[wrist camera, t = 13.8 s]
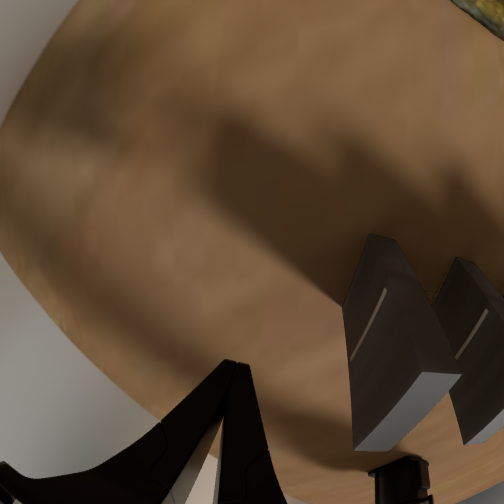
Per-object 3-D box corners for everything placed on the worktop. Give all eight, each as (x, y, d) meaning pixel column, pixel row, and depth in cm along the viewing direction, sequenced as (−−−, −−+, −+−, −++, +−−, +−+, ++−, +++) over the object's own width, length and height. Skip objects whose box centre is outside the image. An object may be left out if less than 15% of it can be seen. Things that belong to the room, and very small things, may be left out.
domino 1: (341, 307, 17) (351, 450, 9) (368, 233, 15) (420, 371, 7) (366, 312, 17) (388, 451, 9) (396, 240, 15) (463, 374, 7)
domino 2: (422, 322, 17) (463, 445, 9) (455, 256, 15) (533, 374, 6) (441, 325, 17) (485, 442, 8) (474, 262, 14) (551, 373, 6)
